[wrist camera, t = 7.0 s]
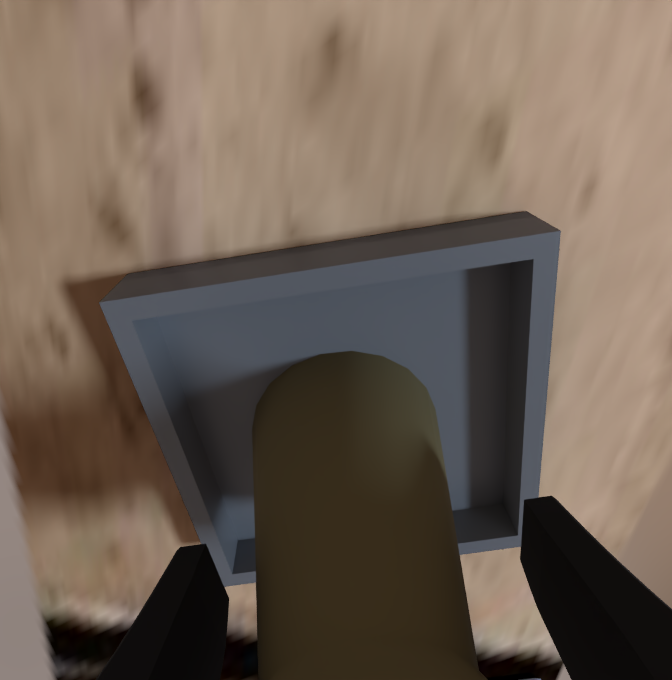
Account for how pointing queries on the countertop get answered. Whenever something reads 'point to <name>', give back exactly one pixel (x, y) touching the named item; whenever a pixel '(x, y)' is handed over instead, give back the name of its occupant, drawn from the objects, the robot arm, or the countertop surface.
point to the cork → (355, 528)
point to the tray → (351, 335)
